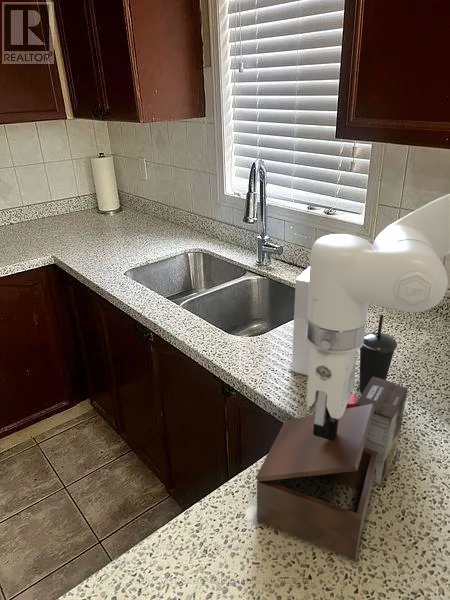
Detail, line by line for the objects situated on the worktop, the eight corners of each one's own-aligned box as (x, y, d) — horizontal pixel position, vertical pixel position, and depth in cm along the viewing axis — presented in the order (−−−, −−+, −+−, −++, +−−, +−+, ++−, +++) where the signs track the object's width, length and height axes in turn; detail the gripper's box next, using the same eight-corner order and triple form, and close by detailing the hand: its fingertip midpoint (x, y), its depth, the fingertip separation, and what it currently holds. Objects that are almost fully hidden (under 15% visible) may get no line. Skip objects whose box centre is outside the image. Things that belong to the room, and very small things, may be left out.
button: (359, 401, 93) (360, 395, 92) (355, 412, 90) (356, 405, 89) (341, 397, 94) (342, 390, 93) (337, 407, 91) (338, 401, 91)
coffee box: (363, 441, 88) (372, 374, 80) (396, 455, 84) (409, 386, 77) (345, 472, 81) (354, 402, 74) (380, 488, 78) (393, 417, 70)
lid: (375, 407, 69) (372, 403, 69) (357, 471, 58) (354, 466, 58) (287, 424, 79) (285, 420, 78) (258, 481, 68) (255, 477, 68)
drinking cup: (382, 408, 96) (396, 328, 87) (348, 396, 100) (357, 318, 91) (392, 389, 102) (405, 312, 93) (359, 378, 106) (368, 303, 97)
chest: (370, 493, 77) (377, 451, 72) (354, 563, 66) (361, 519, 62) (284, 464, 83) (286, 424, 79) (256, 524, 72) (256, 481, 68)
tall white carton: (326, 383, 104) (334, 287, 93) (291, 373, 108) (295, 279, 97) (337, 364, 111) (346, 271, 100) (304, 355, 115) (309, 265, 104)
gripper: (351, 366, 51) (338, 479, 59) (374, 309, 63) (360, 410, 71) (289, 351, 54) (284, 461, 63) (322, 300, 66) (314, 398, 74)
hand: (324, 434), depth 67 cm, fingers closed
